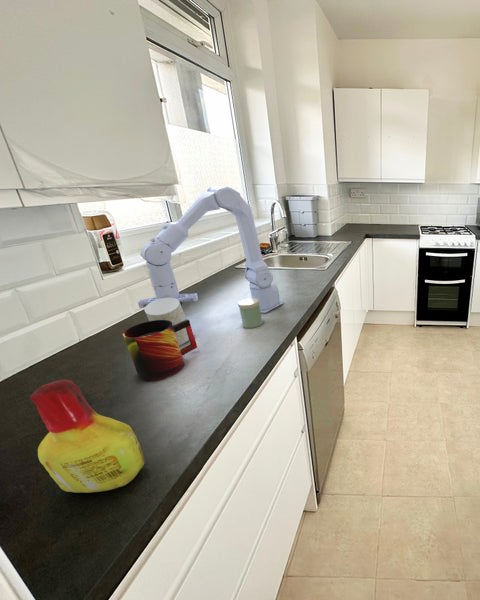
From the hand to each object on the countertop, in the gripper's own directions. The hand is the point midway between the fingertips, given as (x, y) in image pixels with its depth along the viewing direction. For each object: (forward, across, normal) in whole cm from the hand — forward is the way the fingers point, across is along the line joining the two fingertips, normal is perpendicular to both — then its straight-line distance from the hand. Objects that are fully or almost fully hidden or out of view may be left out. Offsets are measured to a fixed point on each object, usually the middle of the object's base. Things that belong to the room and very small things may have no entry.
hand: (176, 324), depth 97 cm
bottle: (+3, -2, -55) cm, 55 cm away
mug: (+3, 0, -19) cm, 19 cm away
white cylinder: (+2, 0, -4) cm, 5 cm away
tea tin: (+3, +21, -2) cm, 22 cm away
